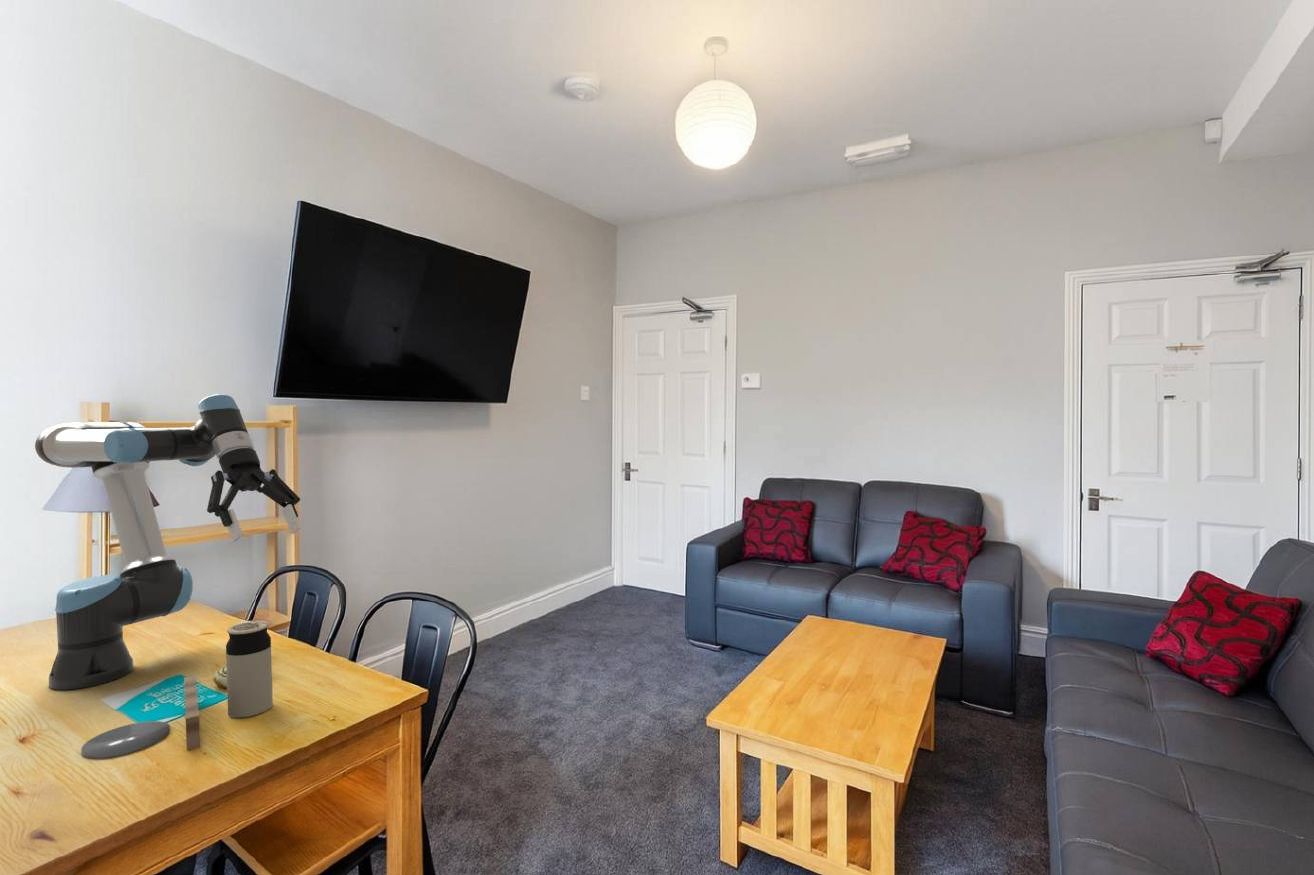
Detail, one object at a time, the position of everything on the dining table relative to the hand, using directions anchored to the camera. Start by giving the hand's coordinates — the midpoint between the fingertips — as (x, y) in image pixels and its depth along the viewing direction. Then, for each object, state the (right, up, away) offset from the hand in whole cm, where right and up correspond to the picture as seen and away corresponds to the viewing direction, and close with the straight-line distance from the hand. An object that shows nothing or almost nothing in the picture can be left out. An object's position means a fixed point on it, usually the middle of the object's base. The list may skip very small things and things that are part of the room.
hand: (268, 534), depth 141 cm
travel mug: (+2, -36, -9) cm, 37 cm away
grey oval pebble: (-14, -36, -21) cm, 44 cm away
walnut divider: (-6, -36, -15) cm, 40 cm away
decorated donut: (-10, -36, +6) cm, 38 cm away
